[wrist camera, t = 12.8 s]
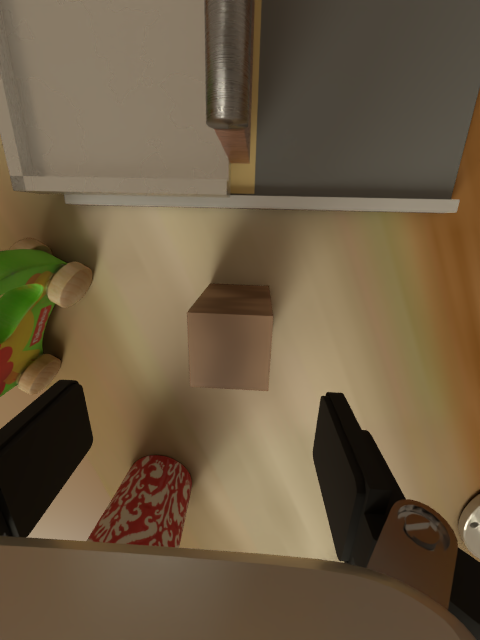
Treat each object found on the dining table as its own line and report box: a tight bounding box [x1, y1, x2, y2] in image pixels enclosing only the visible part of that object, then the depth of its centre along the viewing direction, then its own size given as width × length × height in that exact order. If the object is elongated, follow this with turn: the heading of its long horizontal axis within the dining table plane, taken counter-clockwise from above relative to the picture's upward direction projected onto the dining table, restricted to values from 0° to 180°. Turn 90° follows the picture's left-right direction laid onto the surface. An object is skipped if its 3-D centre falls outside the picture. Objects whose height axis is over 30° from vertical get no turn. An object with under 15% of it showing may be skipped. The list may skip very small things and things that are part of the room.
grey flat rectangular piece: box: [64, 0, 480, 213], centre depth 17 cm, size 28×21×2 cm
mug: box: [87, 455, 192, 548], centre depth 26 cm, size 13×9×14 cm
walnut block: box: [187, 284, 273, 391], centre depth 21 cm, size 5×5×8 cm
